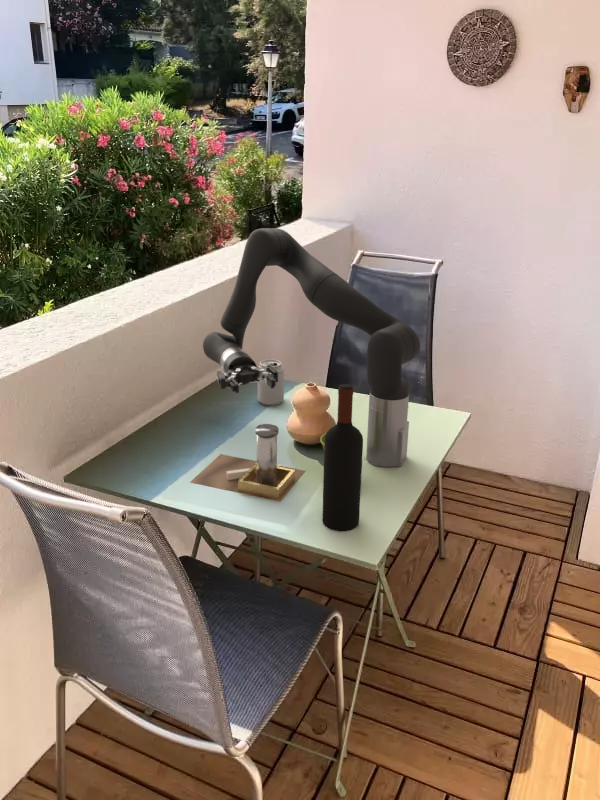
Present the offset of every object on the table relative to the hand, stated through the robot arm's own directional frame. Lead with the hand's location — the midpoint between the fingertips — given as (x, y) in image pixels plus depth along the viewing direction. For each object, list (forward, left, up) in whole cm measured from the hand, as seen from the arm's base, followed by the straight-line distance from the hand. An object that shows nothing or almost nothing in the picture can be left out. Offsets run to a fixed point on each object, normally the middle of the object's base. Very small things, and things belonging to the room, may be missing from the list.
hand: (255, 386), depth 168 cm
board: (-3, +10, -19) cm, 22 cm away
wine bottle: (-28, +19, -19) cm, 39 cm away
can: (+11, -34, -19) cm, 41 cm away
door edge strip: (-4, +9, -19) cm, 21 cm away
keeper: (-8, +12, -19) cm, 24 cm away
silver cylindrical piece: (-8, +12, -18) cm, 23 cm away
